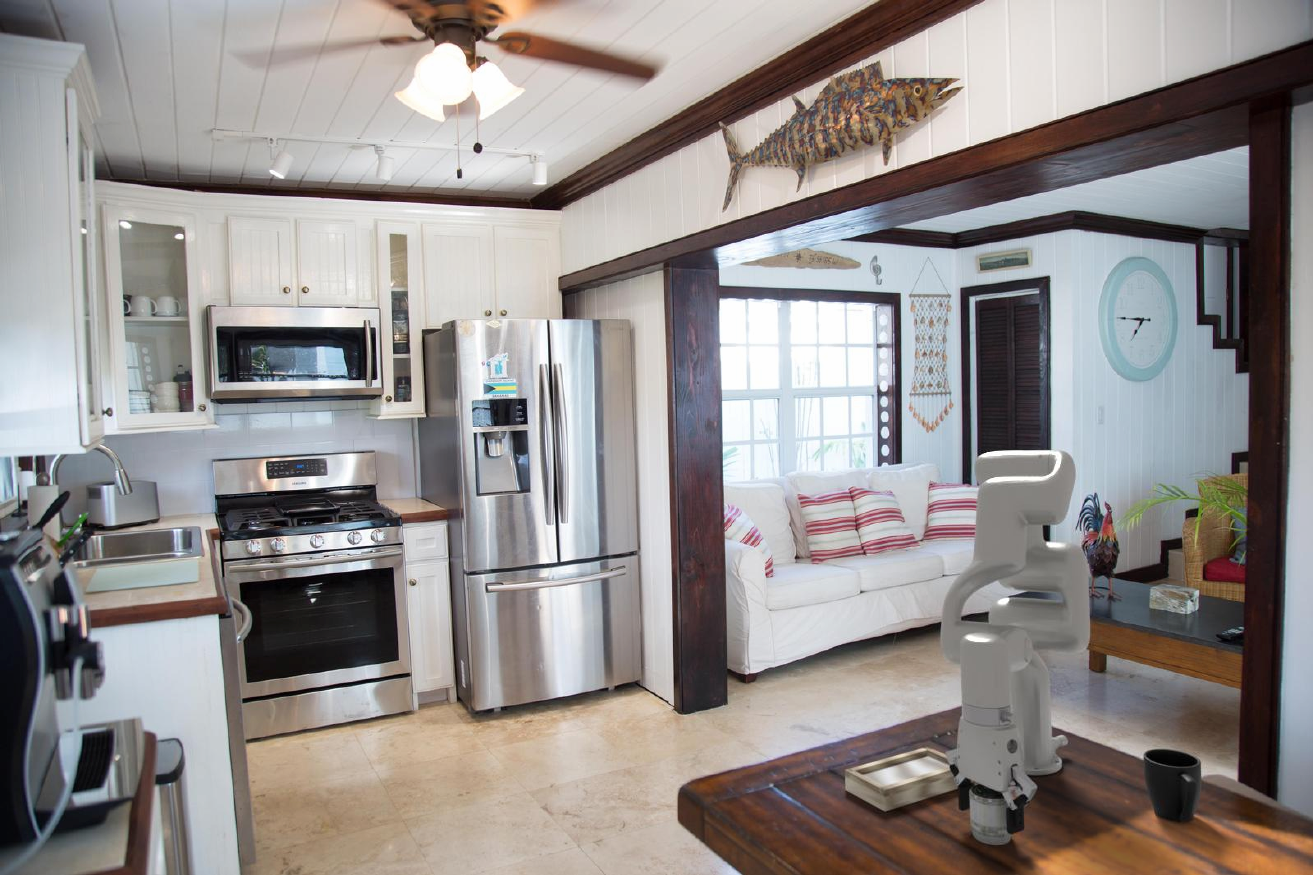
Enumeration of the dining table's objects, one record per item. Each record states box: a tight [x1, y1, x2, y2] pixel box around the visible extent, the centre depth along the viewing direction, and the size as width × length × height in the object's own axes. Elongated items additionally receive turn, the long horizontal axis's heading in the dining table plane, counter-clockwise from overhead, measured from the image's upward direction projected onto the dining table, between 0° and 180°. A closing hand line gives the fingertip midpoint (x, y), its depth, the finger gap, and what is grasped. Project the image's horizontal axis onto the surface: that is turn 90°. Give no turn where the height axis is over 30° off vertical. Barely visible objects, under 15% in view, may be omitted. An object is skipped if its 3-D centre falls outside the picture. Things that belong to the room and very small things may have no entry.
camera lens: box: [969, 783, 1013, 846], centre depth 141 cm, size 6×6×8 cm
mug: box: [1142, 748, 1202, 823], centre depth 144 cm, size 8×12×10 cm
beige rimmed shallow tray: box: [844, 746, 958, 812], centre depth 161 cm, size 20×10×4 cm, turn 117°
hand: (990, 819), depth 141 cm, fingers open, 9 cm apart
